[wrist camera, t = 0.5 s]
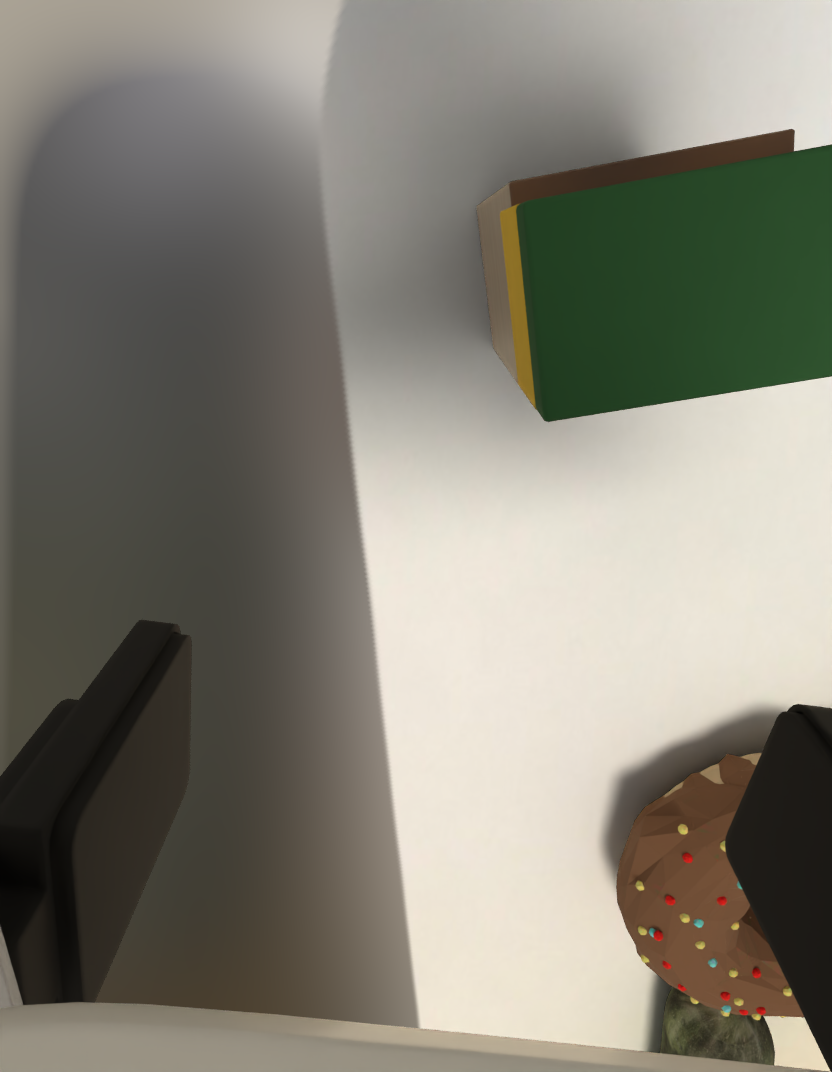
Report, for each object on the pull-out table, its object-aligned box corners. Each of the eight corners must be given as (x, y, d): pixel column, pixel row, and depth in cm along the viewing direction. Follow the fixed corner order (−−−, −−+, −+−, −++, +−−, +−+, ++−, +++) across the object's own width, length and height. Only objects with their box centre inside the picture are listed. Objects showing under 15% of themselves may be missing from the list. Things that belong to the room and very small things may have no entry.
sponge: (808, 155, 13) (930, 125, 10) (799, 339, 15) (905, 365, 11) (499, 211, 14) (522, 201, 11) (518, 385, 15) (544, 423, 12)
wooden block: (651, 173, 21) (796, 127, 13) (656, 322, 23) (786, 365, 15) (476, 205, 22) (508, 181, 14) (493, 349, 24) (531, 406, 15)
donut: (972, 803, 31) (1068, 901, 27) (762, 976, 36) (813, 1085, 31) (731, 661, 28) (791, 743, 24) (537, 869, 33) (555, 971, 28)
